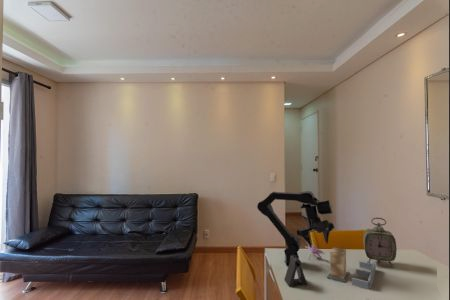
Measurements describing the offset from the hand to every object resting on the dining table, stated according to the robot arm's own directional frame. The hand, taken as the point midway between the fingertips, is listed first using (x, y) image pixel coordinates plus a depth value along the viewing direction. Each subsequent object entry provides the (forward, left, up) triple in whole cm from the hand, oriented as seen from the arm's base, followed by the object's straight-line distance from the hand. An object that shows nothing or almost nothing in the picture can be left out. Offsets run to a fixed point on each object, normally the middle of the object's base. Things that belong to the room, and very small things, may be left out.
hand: (318, 245), depth 136 cm
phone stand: (-16, -14, -12) cm, 24 cm away
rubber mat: (+7, -8, -12) cm, 16 cm away
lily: (+2, +13, -13) cm, 19 cm away
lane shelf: (+19, -9, -12) cm, 24 cm away
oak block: (+7, -8, -12) cm, 15 cm away
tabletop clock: (+34, +5, -12) cm, 37 cm away
